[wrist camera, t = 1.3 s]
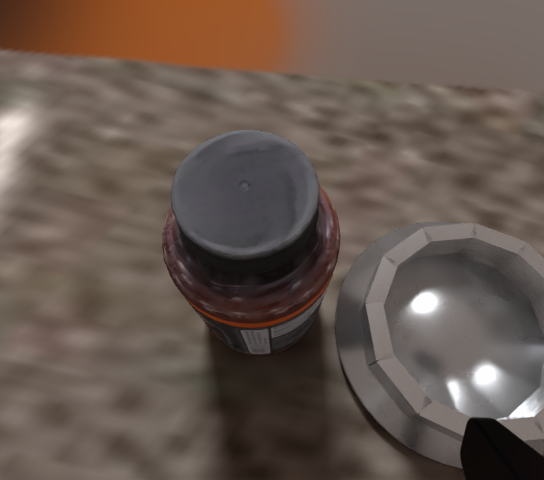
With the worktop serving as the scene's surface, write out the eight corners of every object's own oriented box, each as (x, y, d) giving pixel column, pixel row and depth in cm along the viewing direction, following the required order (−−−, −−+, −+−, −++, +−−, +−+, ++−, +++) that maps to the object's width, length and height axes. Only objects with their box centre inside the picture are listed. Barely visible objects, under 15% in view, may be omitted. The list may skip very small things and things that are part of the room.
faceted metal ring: (634, 362, 19) (682, 354, 17) (457, 534, 16) (486, 553, 14) (452, 189, 23) (471, 164, 21) (287, 304, 21) (288, 290, 18)
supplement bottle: (186, 277, 21) (100, 145, 11) (284, 231, 22) (288, 69, 12) (234, 381, 19) (181, 338, 9) (339, 324, 20) (404, 225, 10)
